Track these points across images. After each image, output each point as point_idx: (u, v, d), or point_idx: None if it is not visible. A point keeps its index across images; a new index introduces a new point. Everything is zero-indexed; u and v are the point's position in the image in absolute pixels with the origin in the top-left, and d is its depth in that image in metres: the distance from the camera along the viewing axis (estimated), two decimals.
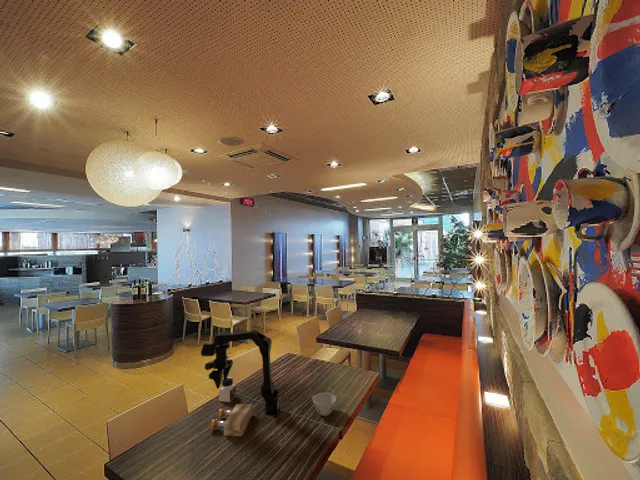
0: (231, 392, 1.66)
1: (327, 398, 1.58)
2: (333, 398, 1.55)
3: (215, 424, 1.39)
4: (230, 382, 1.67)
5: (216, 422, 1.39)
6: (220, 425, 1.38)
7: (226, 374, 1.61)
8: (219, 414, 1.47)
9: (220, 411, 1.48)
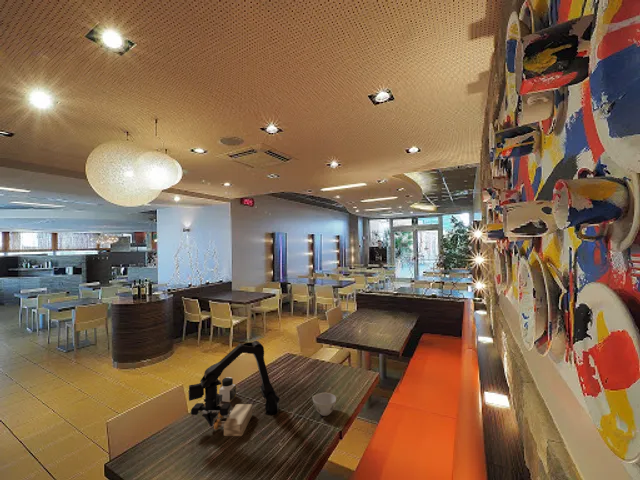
0: (231, 392, 1.66)
1: (327, 398, 1.58)
2: (333, 398, 1.55)
3: (218, 424, 1.39)
4: (230, 382, 1.67)
5: (219, 422, 1.39)
6: (223, 425, 1.38)
7: None
8: (219, 414, 1.47)
9: None
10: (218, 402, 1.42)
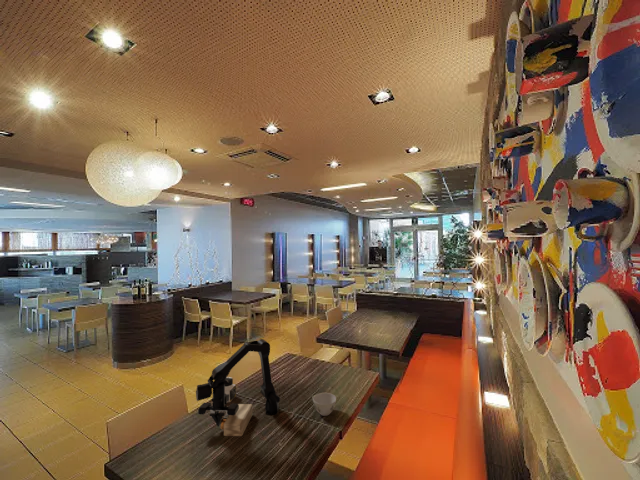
0: (231, 392, 1.66)
1: (327, 398, 1.58)
2: (333, 398, 1.55)
3: None
4: (230, 382, 1.67)
5: None
6: None
7: None
8: None
9: None
10: (225, 402, 1.42)
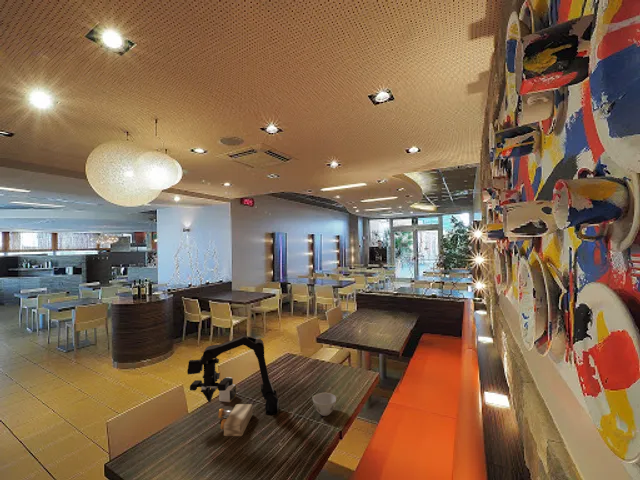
0: (231, 392, 1.66)
1: (327, 398, 1.58)
2: (333, 398, 1.55)
3: None
4: (230, 382, 1.67)
5: None
6: None
7: None
8: (219, 414, 1.47)
9: (220, 411, 1.48)
10: (216, 379, 1.49)
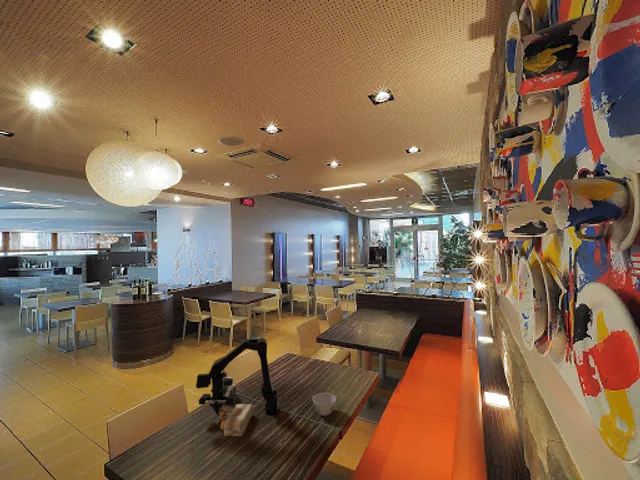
0: (231, 392, 1.66)
1: (327, 398, 1.58)
2: (333, 398, 1.55)
3: None
4: (230, 382, 1.67)
5: None
6: None
7: None
8: (221, 414, 1.47)
9: (222, 411, 1.48)
10: (224, 393, 1.51)
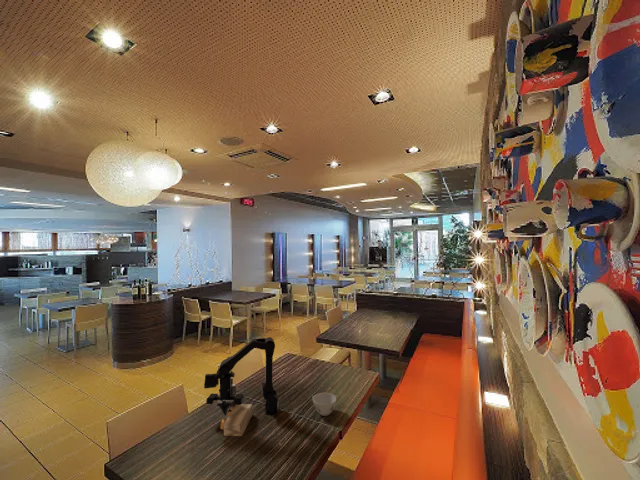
0: None
1: (327, 398, 1.58)
2: (333, 398, 1.55)
3: None
4: None
5: None
6: None
7: None
8: (228, 414, 1.47)
9: (229, 411, 1.47)
10: (232, 393, 1.51)
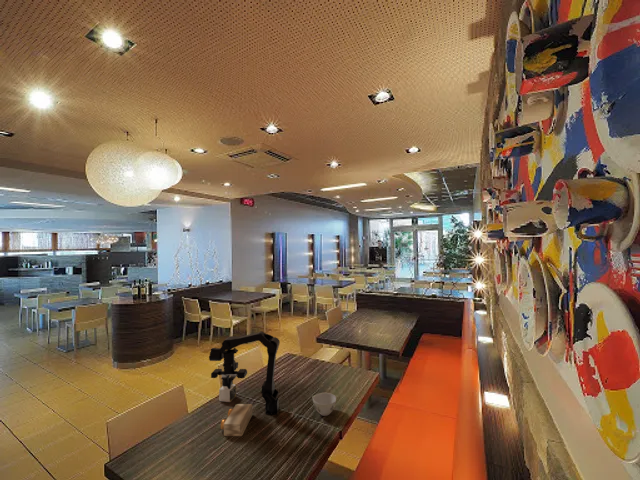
0: (231, 392, 1.66)
1: (327, 398, 1.58)
2: (333, 398, 1.55)
3: None
4: None
5: None
6: None
7: None
8: (228, 414, 1.47)
9: (229, 411, 1.47)
10: (235, 368, 1.58)
